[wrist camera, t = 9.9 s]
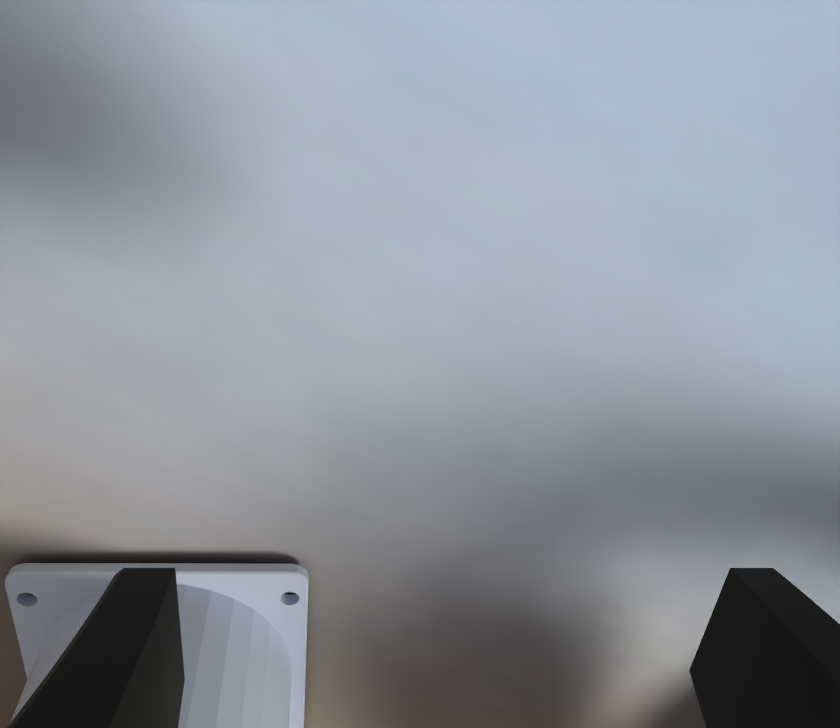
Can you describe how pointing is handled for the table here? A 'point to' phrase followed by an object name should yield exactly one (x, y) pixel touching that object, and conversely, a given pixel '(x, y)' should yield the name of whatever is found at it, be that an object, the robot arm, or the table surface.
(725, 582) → the robot arm
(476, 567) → the table surface
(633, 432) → the table surface
